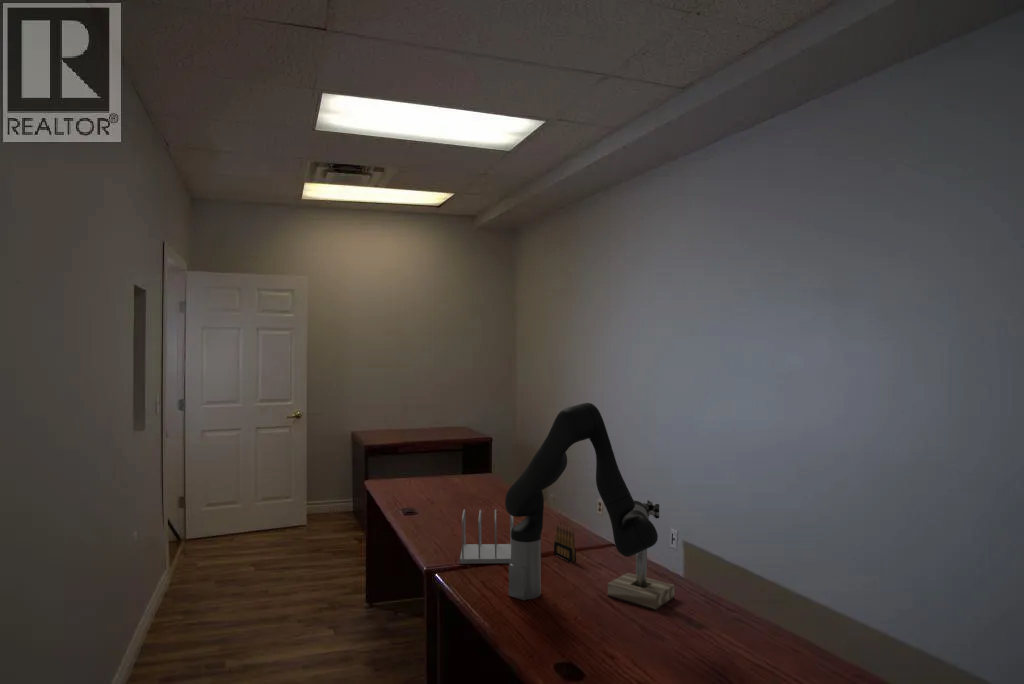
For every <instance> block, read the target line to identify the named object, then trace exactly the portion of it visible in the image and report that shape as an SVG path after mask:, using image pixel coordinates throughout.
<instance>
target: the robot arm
mask: <svg viewBox="0 0 1024 684" xmlns="http://www.w3.org/2000/svg"><path fill="white" fill-rule="evenodd" d="M585 440H589V441H590V443H591V444H592V446H593V448H594V452H595V459H596V464H595V465H596V467H595V468H596V469H595V471H596V472H595V484H596V489H597V491H598V493H599V496H600V498H601V501H602V502H603V505H604V507H605V509H606V511H607V514H608V517H609V521H610V524H611V529H612V535H613V541H614V545H615V548H616V550H617V552H618V553H619V554H620V555H621V556H624V557H627V558H628V557H632V556H634V555H636V554H637V553H639V552H641V551H643V550H645V549H647V550H648V549H649V548H651V547H653V546H655V545H656V544H657V541H658V537H659V535H658V531H657V529H656V527H655V525H654V523H652V522H651V520H650V518H649V517H650V516H652V517H654V518H655V519H659V518H660V504H659V503H655V504H653V502H652V501H650V500H646V501H647V503H646V502H643V503H642V502H640V501H638V500H634V498H633V496H632V495H631V492H630V490H629V488H628V486H627V484H626V482H625V480H624V477H623V475H622V473H621V471H620V469H619V466H618V464H617V463H618V462H617V460H616V456H615V453H614V450H613V447H612V444H611V440H610V437H609V435H608V431H607V427H606V425H605V422H604V419H603V417H602V413H601V412H600V410H599V409H598V407H596V405H594V404H593V403H590V402H584V403H580V404H576V405H572V406H567V407H565V408H563V409H562V410H560V412H558V414H557V415H556V418H555V419H554V421H553V423H552V425H551V428H550V430H549V432H548V434H547V436H546V438H544V440H543V442H542V444H541V445H540V447H539V448H538V450H537V451H536V452H535V454H534V455H533V457H532V458H531V460H530V462H529V463H528V465H527V467H526V468H525V469H524V471H523V473H521V475H520V476H519V477H518V478H517V480H516V481H514V483H513V484H512V485H511V486H510V487H509V488H508V490H507V493H506V494H505V495H506V496H505V500H504V505H505V506H504V507H505V509H506V512H507V514H509V516H510V515H512V516H513V517H515V518H521V517H525V518H524V519H523V520H521V521H520V522H519V523H518V524H516V525H514V527H513V528H512V530H511V563H508V596H510V597H512V598H515V599H518V600H521V601H526V599H527V600H534V599H537V598H539V597H540V596H541V592H542V589H541V588H542V587H541V584H542V580H541V579H542V574H541V572H542V571H541V570H542V566H541V565H542V533H543V528H544V527H543V523H544V510H545V509H544V508H545V506H544V505H545V502H544V501H545V498H544V493H543V490H545V489H547V488H549V487H550V486H552V485H554V484H555V483H556V482H557V481H558V480H559V479H560V477H561V476H562V474H563V473H564V472H565V470H566V468H567V465H568V456H567V453H566V452H567V451H568V450H569V449H570V447H572V445H574V444H576V443H579V442H582V441H585Z"/></svg>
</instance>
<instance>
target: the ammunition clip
mask: <svg viewBox="0 0 1024 684" xmlns="http://www.w3.org/2000/svg"><path fill="white" fill-rule="evenodd" d="M575 539H576V538H575V531H574V527H572V528H571V527H570V526H569V527H568V525H564V524H562V523H561V522H560V523H559V522H558V521H556V524H555V535H554V542H553V555H554V556H555V555H558V556H560V557H562V558H564V559H566V560H568V561H569V562H568V561H567V562H568V563H570V562H572V563H571V564H574V563H573V562H576V563H577V552H576V551H577V548H576V542H575V541H576V540H575ZM564 559H563V560H564ZM566 560H565V561H566Z"/></svg>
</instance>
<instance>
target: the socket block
mask: <svg viewBox="0 0 1024 684" xmlns="http://www.w3.org/2000/svg"><path fill="white" fill-rule="evenodd" d="M607 597H608V598H612V599H615V600H618V601H622V602H626V603H628V602H629V603H630V604H632V603H633V604H632V605H635V604H636V605H635V606H639V607H642V606H643V608H645V607H646V609H649V608H650V610H652V609H653V611H657V610H659V609H660V608H662V607H664V604H665V605H666V604H668V603H670V602H671V601H672V600H674V599H675V584H672V583H668V582H664V581H662V580H661V581H660V580H658V579H654V578H649V577H647V587H646V588H641V587H637V586H636V573H635V574H634V573H631V572H627V573H624V574H622V575H621V576H619V577H617V578H615V579H613V580H611V581H609V582H607ZM673 598H674V599H673ZM670 600H671V601H670ZM667 602H668V603H667ZM629 603H628V604H629ZM661 606H662V607H661ZM658 608H659V609H658Z"/></svg>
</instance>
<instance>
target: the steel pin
mask: <svg viewBox="0 0 1024 684" xmlns="http://www.w3.org/2000/svg"><path fill="white" fill-rule="evenodd" d="M635 555H636V556H635V575H636V586H637V587H641V588H646V587H647V578H648V577H647V576H648V575H647V574H648V573H647V572H648V571H647V570H648V569H647V568H648V548H647V549H645V550H643V551H641V552H639V553H637V554H635Z"/></svg>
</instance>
